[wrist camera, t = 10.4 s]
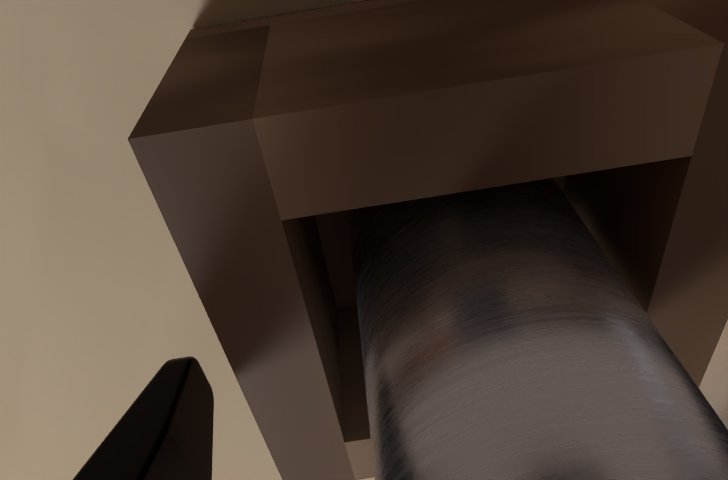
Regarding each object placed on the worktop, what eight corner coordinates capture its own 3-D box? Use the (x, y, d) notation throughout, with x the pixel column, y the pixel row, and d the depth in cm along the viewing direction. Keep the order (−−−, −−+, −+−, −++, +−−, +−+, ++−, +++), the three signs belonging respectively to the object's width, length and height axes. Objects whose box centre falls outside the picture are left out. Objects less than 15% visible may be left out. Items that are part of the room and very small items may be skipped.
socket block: (660, -48, 9) (853, 22, 6) (595, 293, 14) (679, 431, 11) (190, 29, 9) (128, 138, 6) (291, 340, 14) (287, 489, 11)
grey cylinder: (546, 93, 10) (980, 581, 3) (533, 258, 12) (772, 717, 6) (330, 128, 10) (374, 669, 4) (360, 285, 12) (417, 767, 6)
